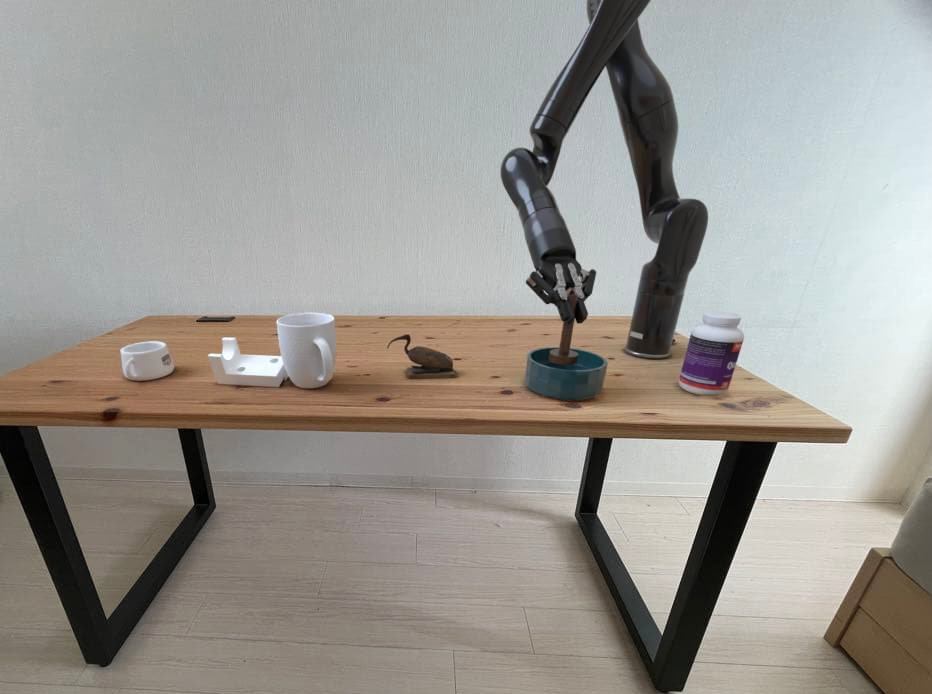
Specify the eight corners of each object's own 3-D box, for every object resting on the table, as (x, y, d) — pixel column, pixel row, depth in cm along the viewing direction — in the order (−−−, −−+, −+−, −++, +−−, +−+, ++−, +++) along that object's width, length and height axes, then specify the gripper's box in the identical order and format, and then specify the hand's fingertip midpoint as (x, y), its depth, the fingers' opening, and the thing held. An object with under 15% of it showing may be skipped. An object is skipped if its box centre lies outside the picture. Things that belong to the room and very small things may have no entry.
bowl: (535, 370, 97) (539, 343, 95) (607, 382, 90) (612, 353, 88) (514, 392, 86) (517, 362, 84) (594, 408, 79) (600, 376, 77)
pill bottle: (727, 401, 81) (752, 322, 75) (675, 392, 85) (696, 316, 79) (725, 387, 88) (749, 312, 82) (678, 379, 92) (696, 308, 86)
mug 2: (358, 391, 87) (354, 324, 82) (304, 404, 82) (297, 334, 76) (324, 369, 99) (319, 309, 93) (275, 380, 93) (267, 317, 88)
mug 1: (141, 366, 102) (135, 340, 100) (183, 366, 102) (177, 340, 99) (107, 385, 91) (98, 357, 89) (153, 386, 91) (146, 357, 88)
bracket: (219, 387, 92) (207, 356, 88) (233, 367, 98) (223, 337, 93) (279, 390, 90) (271, 358, 86) (291, 370, 96) (284, 339, 91)
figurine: (387, 379, 93) (387, 338, 90) (387, 371, 97) (386, 332, 94) (455, 377, 94) (457, 336, 90) (452, 370, 98) (453, 330, 94)
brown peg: (552, 354, 87) (561, 291, 82) (579, 359, 84) (590, 293, 79) (545, 362, 83) (554, 295, 78) (573, 366, 81) (585, 298, 76)
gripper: (523, 226, 79) (551, 311, 74) (592, 225, 82) (624, 307, 77) (506, 255, 86) (530, 334, 81) (570, 253, 89) (598, 330, 83)
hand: (576, 321), depth 79 cm, fingers closed on brown peg
